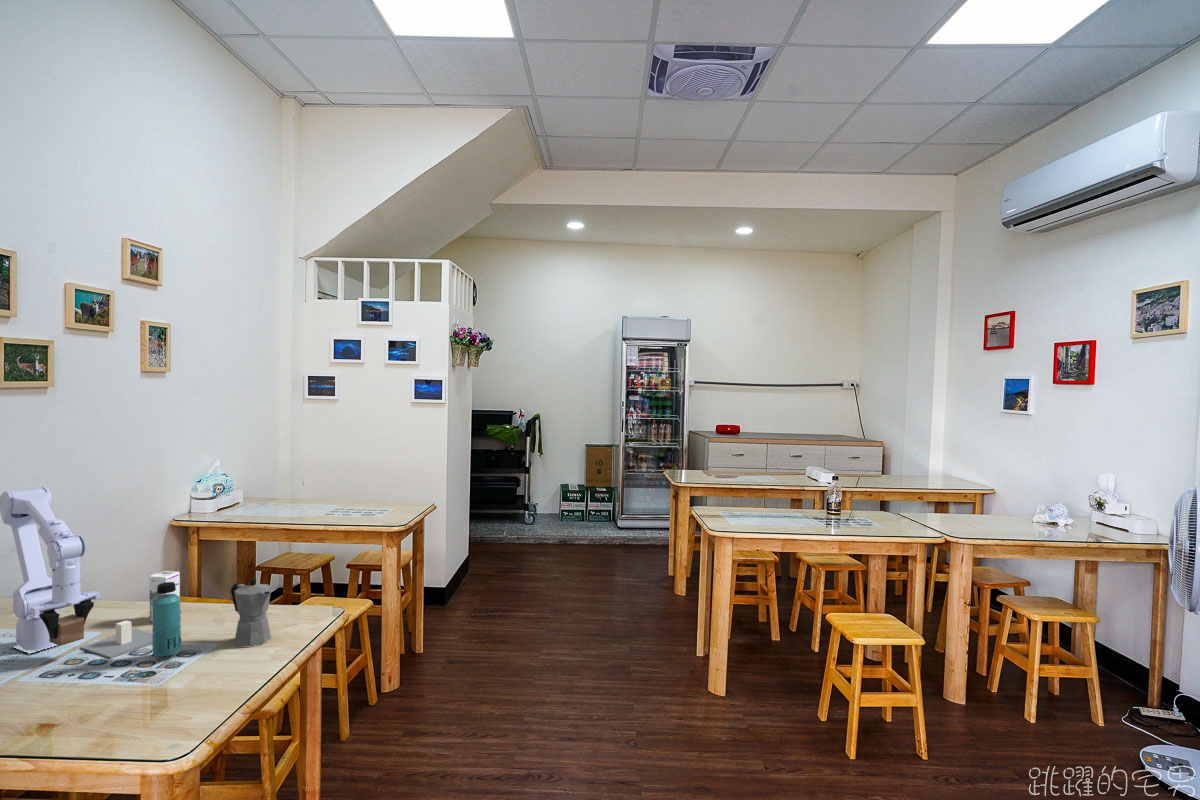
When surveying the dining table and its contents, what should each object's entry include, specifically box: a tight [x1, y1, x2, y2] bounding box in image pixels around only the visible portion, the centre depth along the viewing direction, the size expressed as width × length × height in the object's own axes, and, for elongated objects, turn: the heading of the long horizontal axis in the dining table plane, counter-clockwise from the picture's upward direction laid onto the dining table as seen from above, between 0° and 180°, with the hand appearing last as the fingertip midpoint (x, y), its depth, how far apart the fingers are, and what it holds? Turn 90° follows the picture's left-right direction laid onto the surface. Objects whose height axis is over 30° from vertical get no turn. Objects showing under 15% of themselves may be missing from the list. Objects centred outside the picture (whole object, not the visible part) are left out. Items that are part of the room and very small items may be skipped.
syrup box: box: [148, 570, 181, 623], centre depth 192 cm, size 6×6×14 cm
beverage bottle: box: [151, 582, 182, 657], centre depth 166 cm, size 6×7×20 cm
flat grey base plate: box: [79, 620, 153, 660], centre depth 174 cm, size 14×14×6 cm
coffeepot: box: [230, 578, 272, 647], centre depth 178 cm, size 15×9×18 cm, turn 67°
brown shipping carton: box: [49, 614, 85, 647], centre depth 164 cm, size 5×5×6 cm
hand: (66, 633), depth 164 cm, fingers closed on brown shipping carton, 5 cm apart
